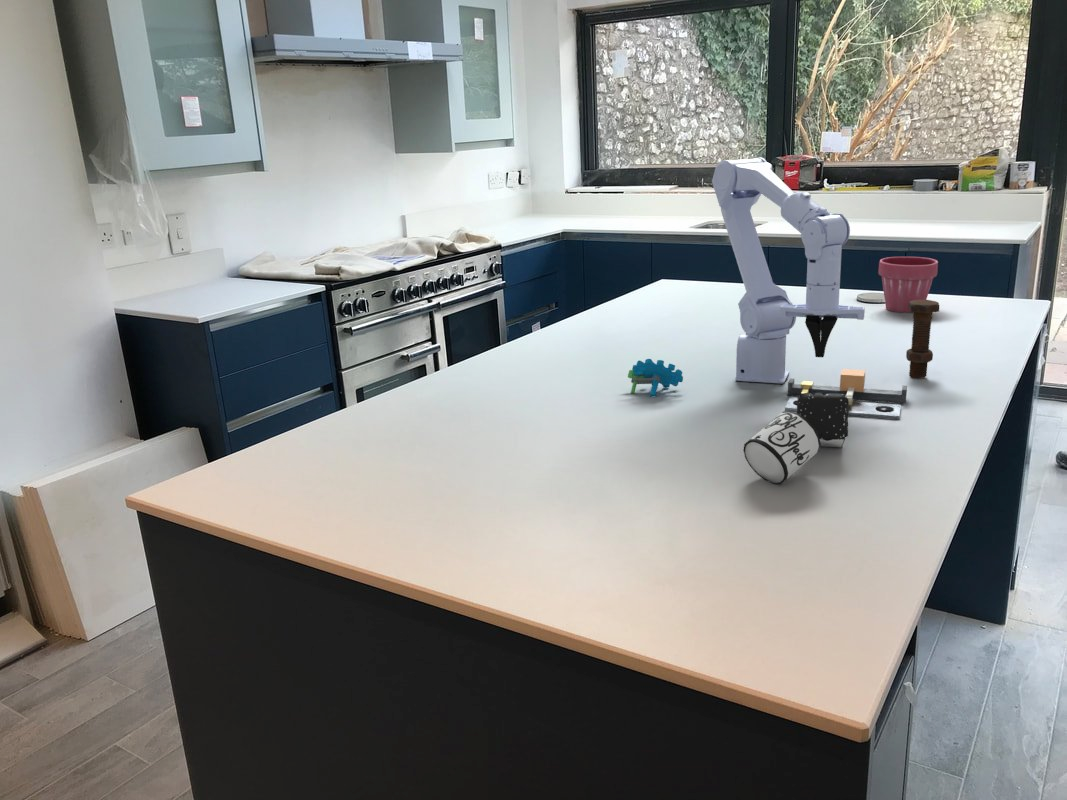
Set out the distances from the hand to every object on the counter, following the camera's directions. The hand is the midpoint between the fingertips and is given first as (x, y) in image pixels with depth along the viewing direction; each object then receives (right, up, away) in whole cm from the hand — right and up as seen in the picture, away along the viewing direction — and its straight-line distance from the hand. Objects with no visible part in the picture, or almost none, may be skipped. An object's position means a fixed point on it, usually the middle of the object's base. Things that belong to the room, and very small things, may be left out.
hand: (819, 356), depth 163 cm
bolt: (+23, -4, +10) cm, 25 cm away
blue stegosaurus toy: (-29, -7, +10) cm, 32 cm away
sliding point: (+5, -8, -3) cm, 9 cm away
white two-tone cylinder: (-13, -18, -29) cm, 36 cm away
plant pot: (+45, +16, +68) cm, 83 cm away
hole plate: (+2, -10, -6) cm, 12 cm away
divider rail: (+4, -9, -3) cm, 10 cm away
